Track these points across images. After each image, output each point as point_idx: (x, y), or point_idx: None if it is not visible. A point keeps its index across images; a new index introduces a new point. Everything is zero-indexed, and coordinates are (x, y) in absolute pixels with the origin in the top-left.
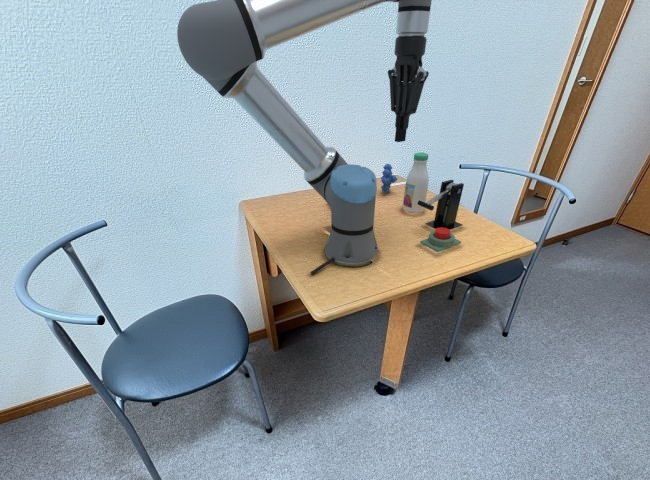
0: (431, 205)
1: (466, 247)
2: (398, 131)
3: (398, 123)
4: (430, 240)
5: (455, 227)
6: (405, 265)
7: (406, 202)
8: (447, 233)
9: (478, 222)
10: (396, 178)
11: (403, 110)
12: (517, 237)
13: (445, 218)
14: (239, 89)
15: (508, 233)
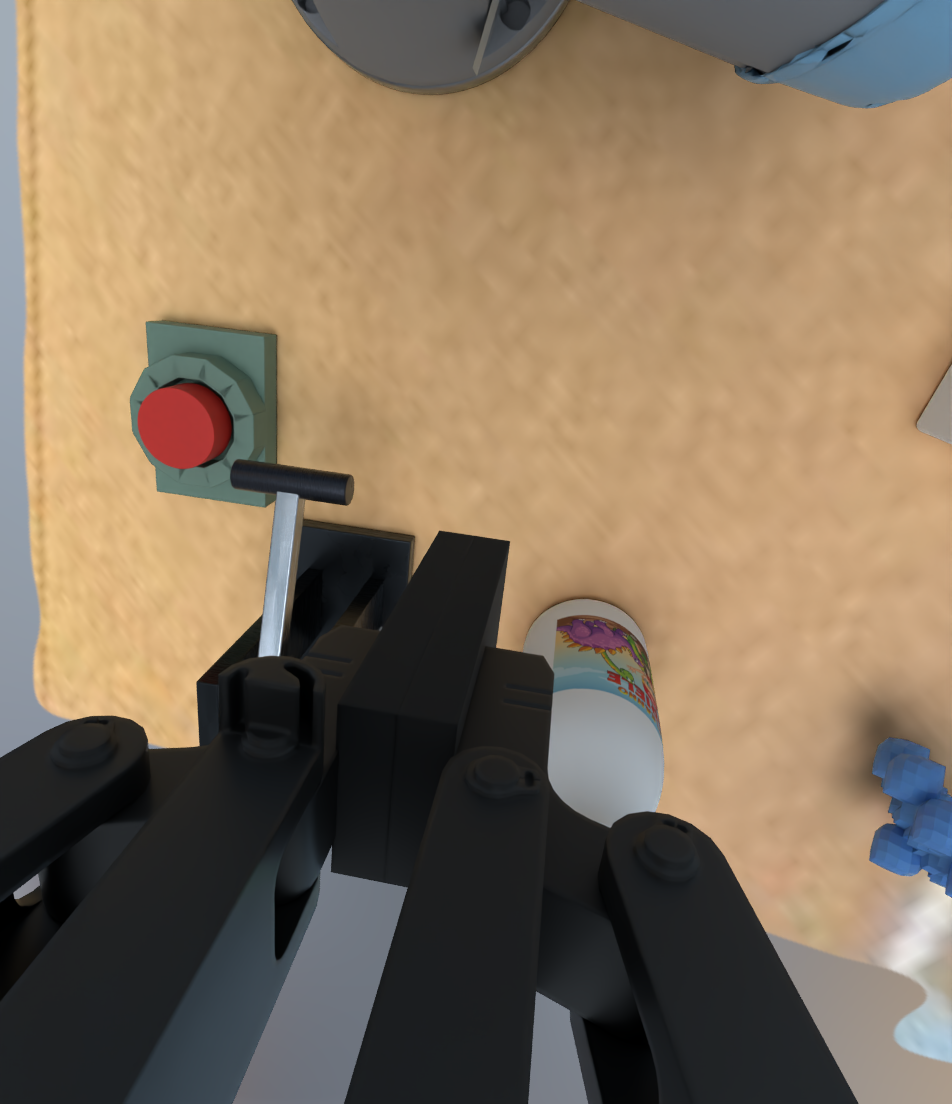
0: (240, 478)
1: (152, 499)
2: (426, 582)
3: (424, 642)
4: (212, 357)
5: None
6: (168, 99)
7: (596, 626)
8: (139, 417)
9: None
10: (875, 858)
11: (235, 782)
12: None
13: (299, 591)
14: None
15: (153, 738)
